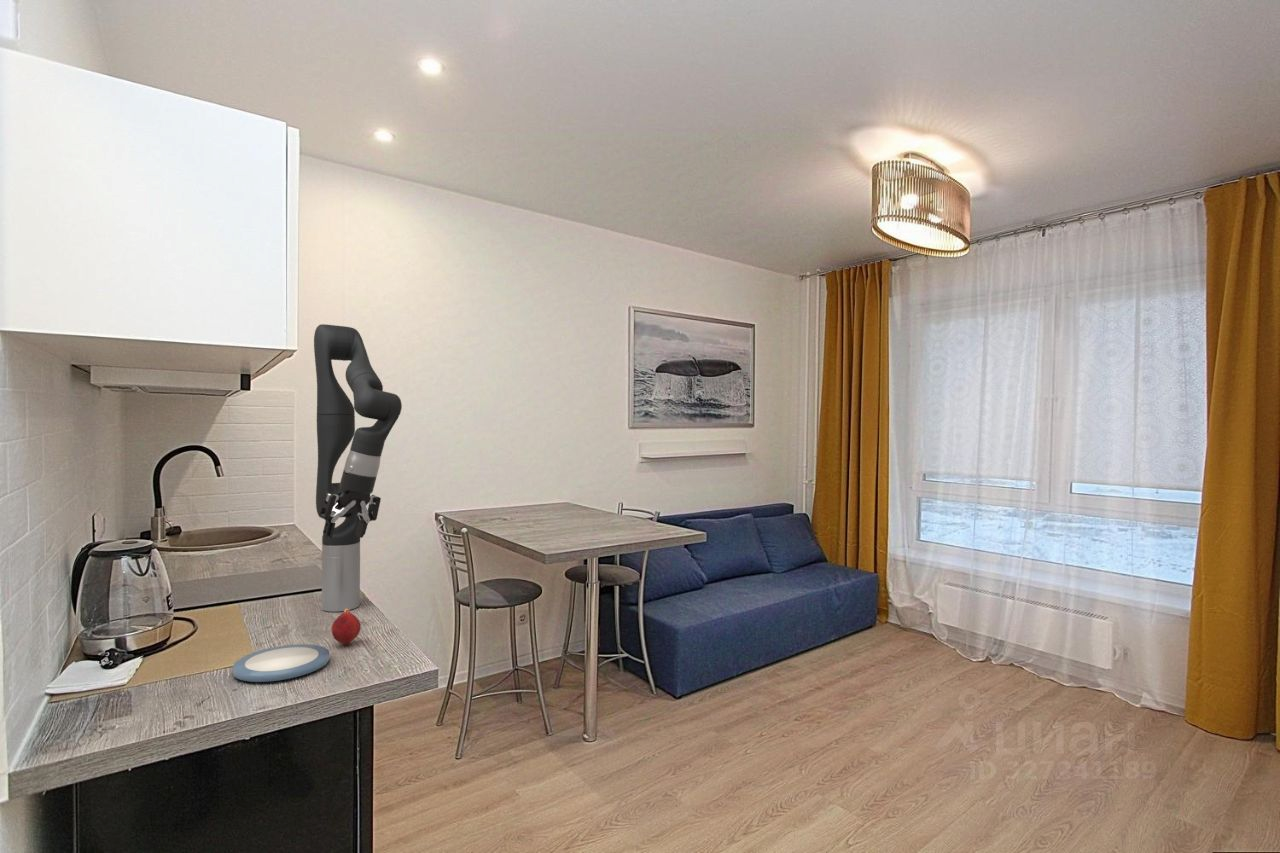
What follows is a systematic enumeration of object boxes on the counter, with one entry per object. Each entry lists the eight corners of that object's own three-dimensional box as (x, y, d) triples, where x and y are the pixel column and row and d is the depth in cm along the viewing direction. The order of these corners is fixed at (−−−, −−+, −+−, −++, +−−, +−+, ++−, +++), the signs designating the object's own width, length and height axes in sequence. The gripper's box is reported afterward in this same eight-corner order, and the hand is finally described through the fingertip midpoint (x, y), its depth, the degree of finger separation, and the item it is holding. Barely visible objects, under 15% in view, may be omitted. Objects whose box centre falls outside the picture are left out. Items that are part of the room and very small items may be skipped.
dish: (237, 660, 134) (237, 651, 134) (328, 648, 142) (328, 639, 142) (227, 691, 119) (227, 681, 119) (330, 675, 127) (330, 666, 127)
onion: (349, 650, 140) (349, 613, 140) (325, 648, 142) (325, 612, 141) (365, 641, 146) (365, 606, 146) (342, 639, 147) (343, 604, 147)
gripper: (375, 470, 163) (358, 532, 163) (324, 465, 150) (306, 532, 150) (395, 477, 159) (378, 541, 159) (344, 473, 147) (326, 542, 146)
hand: (343, 537), depth 154 cm, fingers open, 8 cm apart
